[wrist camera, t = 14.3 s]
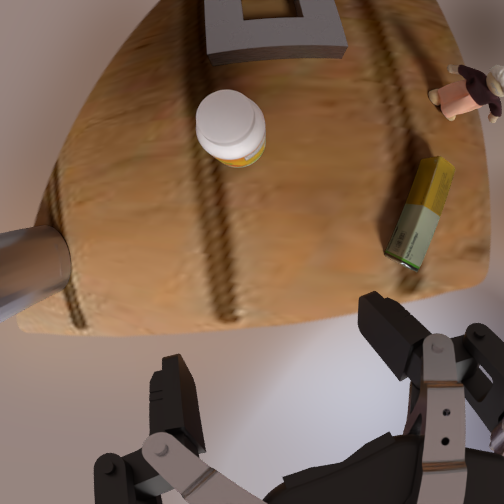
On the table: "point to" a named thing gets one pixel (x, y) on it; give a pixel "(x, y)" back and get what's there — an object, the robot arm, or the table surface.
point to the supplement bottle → (231, 128)
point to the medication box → (421, 213)
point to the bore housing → (273, 33)
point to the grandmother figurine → (471, 92)
